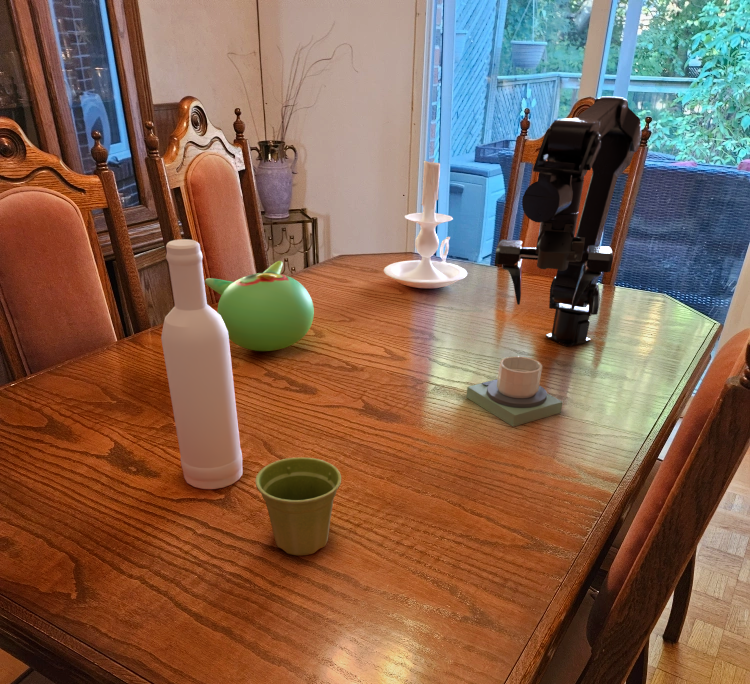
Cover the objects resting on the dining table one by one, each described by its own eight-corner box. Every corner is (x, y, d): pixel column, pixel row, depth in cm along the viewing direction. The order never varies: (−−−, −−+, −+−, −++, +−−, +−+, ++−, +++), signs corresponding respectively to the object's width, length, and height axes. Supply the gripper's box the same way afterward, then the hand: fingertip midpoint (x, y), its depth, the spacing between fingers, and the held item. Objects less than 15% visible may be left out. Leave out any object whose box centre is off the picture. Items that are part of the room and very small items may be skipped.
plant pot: (263, 518, 82) (258, 457, 77) (340, 516, 82) (339, 455, 77) (259, 567, 74) (252, 502, 69) (343, 564, 75) (343, 500, 70)
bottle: (176, 467, 91) (137, 238, 74) (232, 454, 94) (206, 231, 78) (194, 496, 85) (155, 254, 69) (252, 481, 89) (229, 247, 72)
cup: (488, 387, 108) (491, 360, 106) (519, 379, 111) (522, 353, 109) (515, 402, 104) (519, 375, 101) (546, 393, 107) (551, 367, 104)
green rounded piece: (241, 370, 119) (232, 288, 111) (207, 340, 131) (198, 264, 122) (329, 352, 127) (327, 274, 119) (290, 325, 139) (286, 253, 131)
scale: (466, 397, 111) (467, 382, 110) (511, 385, 116) (514, 370, 114) (513, 426, 103) (515, 410, 101) (560, 412, 107) (563, 397, 106)
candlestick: (483, 276, 173) (496, 155, 157) (447, 301, 154) (458, 168, 139) (411, 265, 180) (416, 149, 165) (369, 288, 162) (370, 160, 146)
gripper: (497, 217, 102) (486, 317, 111) (623, 225, 99) (602, 327, 107) (503, 203, 111) (493, 296, 120) (619, 210, 107) (600, 305, 116)
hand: (545, 306), depth 116 cm, fingers open, 9 cm apart
